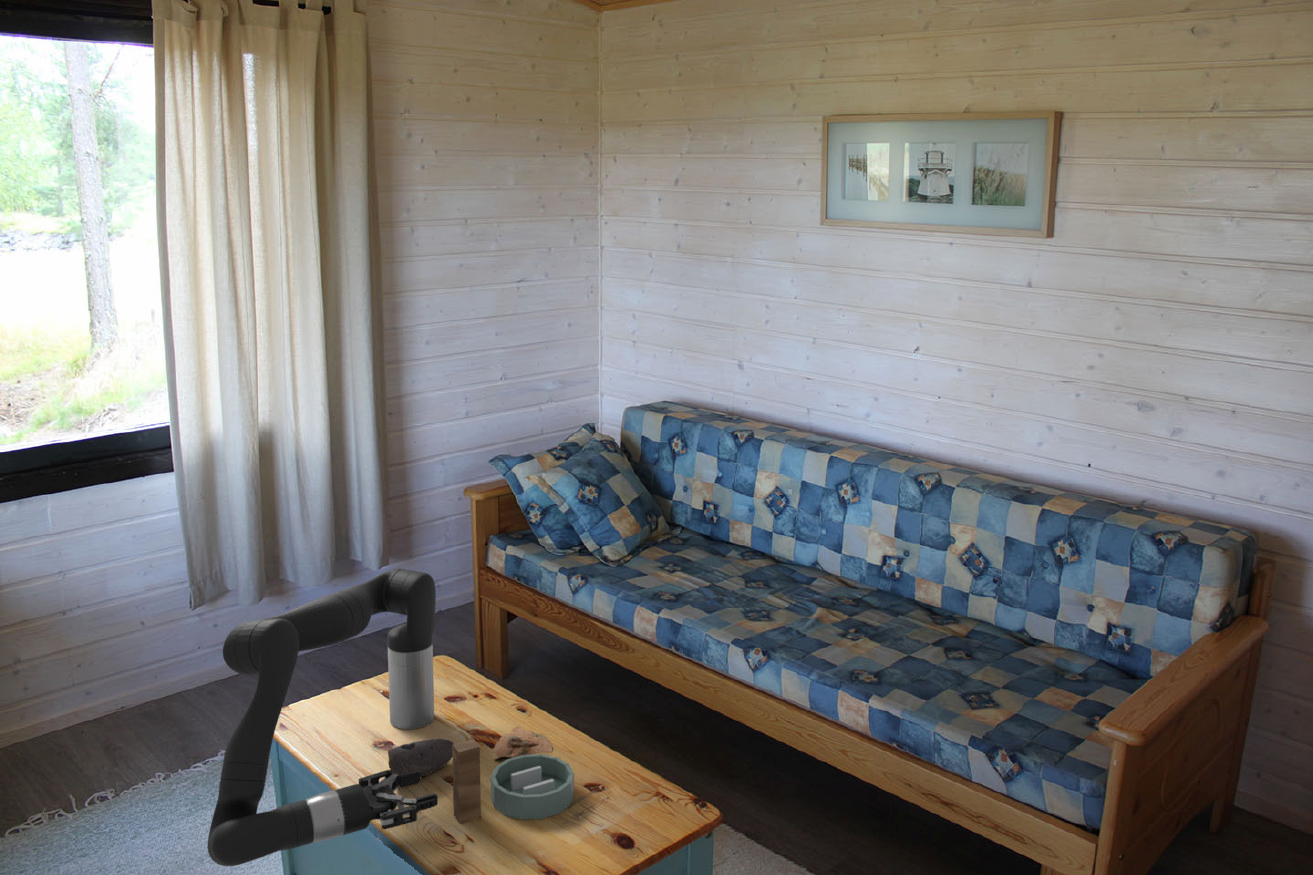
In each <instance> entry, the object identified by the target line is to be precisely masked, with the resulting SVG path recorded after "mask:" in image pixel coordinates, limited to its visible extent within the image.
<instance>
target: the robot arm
mask: <svg viewBox="0 0 1313 875" xmlns="http://www.w3.org/2000/svg"><path fill="white" fill-rule="evenodd" d="M436 589H437V588H436V583H435V580H434V578H433V576H432V575H431V574H429V573H426V572H423V571H417V570H412V569H406V568H398V567H397V568H391V569H388V570H385V571H384V572H382V573H381V574H379V575H376V576H374V577H373V578H371V579H369V580H367V581H365V582H363V583H360V584H357V585H353V586H351V587H348V588H346V589H342V590H338V591H335V592H333V593H330V594H327V595H323V596H321V597H319V598H317V599H313V600H312V601H309V602H307V603H304V604H302V605H299V606H297V607H295V608H293V609H291V610H289V611H287V612H284V613H281V614H278V615H275V616H271V617H267V618H263V619H257V620H250V621H245V622H243V623H240V624H238V625H237V626H235V627H234V628H233V629H232V630H231V631H230V632H229V633H228V634H227V637H226V638H225V640H224V643H223V646H222V657H223V660H224V662H225V664H226V665H227V666H228V667H229V669H231V670H232V671H234V672H235V673H238V674H240V675H243V676H244V675H245V676H256V675H258V680H257V686H256V688H255V692H254V694H253V698H252V700H251V702H250V704H249V707H248V708H247V710H246V712H245V713H244V715H243V717H241V720H240V722H239V723H238V724H237V726H236V728H235V730H234V731H233V733H232V735H231V737H230V739H229V741H228V743H227V745H226V748H225V752H224V756H223V762H222V768H221V774H220V779H219V786H218V796H217V797H218V798H217V801H216V804H215V809H214V812H213V816H212V819H211V824H210V827H209V833H208V838H207V846H206V847H207V851H208V852H207V854H208V855H209V857H210V859H211V860H212V861H213V862H214V863H215V864H217V865H219V866H223V867H235V866H240V865H243V864H246V863H249V862H252V861H254V860H258V859H260V858H263V857H266V856H269V855H272V854H274V853H278V852H280V851H287V850H292V849H297V848H299V847H302V846H306V845H310V844H313V843H317V842H323V841H329V840H333V839H335V838H338V837H342V836H345V835H349V834H353V833H355V832H359V831H362V830H365V829H367V828H368V827H369V825H370V823H371V821H373V820H374V821H375V820H380V822H381V825H380V826H381V829H382V830H387V829H392V828H395V827H399V826H404V825H407V824H411V823H415V822H417V821H418V813H419V812H422V811H424V810H429V809H432V808H434V807H437V806H438V802H439V801H438V798H439V797H438V795H437V793H436V792H431V793H428V794H425V795H422V796H419V797H415V798H407V797H404V796H403V795H399V794H397V793H395V792H396V791H397V790H398V789H399V788H400V789H402V788H403V789H404V788H406V787H410V786H413V785H416V784H420V783H421V781H422V780H421V778H422V777H421V776H420V772H419V771H418V770H416V771H412V772H409V773H405V774H401V775H398V774H392V773H391V770H390V769H386V770H381V771H380V772H377V773H372V774H370V775H367V776H363V777H360V778H358V783H356V784H351V785H348V786H345V787H341V788H340V787H339V788H336V789H333V790H329V791H325V792H322V793H319V794H316V795H313V796H311V797H308V798H306V799H303V800H299V801H298V800H297V801H295V802H291V803H288V804H284V805H282V806H279V807H277V808H274V809H273V810H269V811H263V812H259V813H257V812H258V806H259V805H260V804H259V803H260V801H261V800H262V798H263V795H264V791H265V787H266V786H265V785H266V781H267V773H268V770H269V769H268V768H269V763H270V762H269V761H270V754H271V750H272V745H273V741H274V739H273V738H274V737H275V733H276V728H277V724H278V721H279V719H280V715H281V711H282V708H283V707H284V706H283V705H284V702H285V700H286V697H287V694H288V690H289V686H290V684H291V680H292V678H293V674H294V671H295V668H296V665H297V664H296V663H297V660H298V656H299V652H303V651H309V650H316V649H321V648H325V647H329V646H332V645H336V644H340V643H342V642H345V641H347V640H349V639H352V638H354V637H357V636H358V635H359V634H361V633H362V632H364V631H365V629H367V627H368V626H369V624H370V621H371V619H372V616H374V615H376V614H381V613H393V614H398V615H403V616H406V623H404V624H399V625H397V626H395V627H393V628H392V629H390V630H389V631H388V633H387V638H386V639H387V642H386V643H387V660H388V662H387V664H388V696H389V697H388V698H389V699H388V700H389V721H390V724H391V725H392V726H393V727H395V728H399V729H400V730H401V729H403V730H413V729H419V728H420V729H421V728H424V727H425V726H428V725H430V724H431V723H432V722H433V721H434V719H435V692H434V691H435V690H434V687H435V686H434V655H433V652H434V651H433V650H434V648H433V635H434V631H435V624H436V602H437V600H436V599H437V591H436ZM382 778H383V779H382ZM380 779H382V780H380ZM404 816H406V817H404Z"/></svg>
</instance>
